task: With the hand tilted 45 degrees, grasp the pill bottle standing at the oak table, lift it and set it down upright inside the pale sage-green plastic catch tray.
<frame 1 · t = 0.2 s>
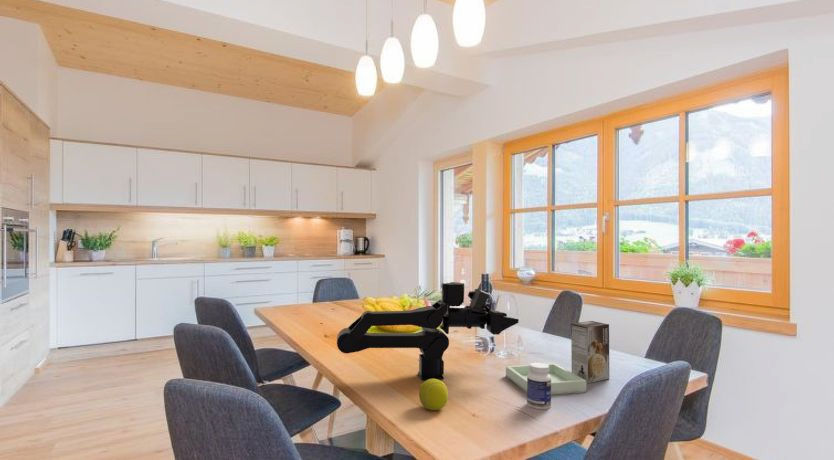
hand: (512, 317, 131), 17 cm above the table, tool horizontal, fingers open, 9 cm apart
catch tray: (543, 383, 121), on the table
pill bottle: (538, 406, 106), on the table
coffee box: (590, 378, 127), on the table
tennis ball: (433, 409, 103), on the table
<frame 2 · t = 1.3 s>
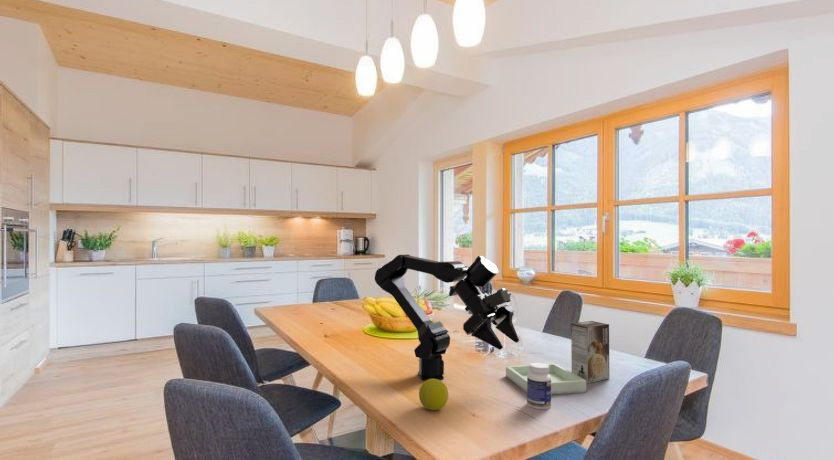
hand: (509, 345, 111), 13 cm above the table, tool tilted 45°, fingers open, 9 cm apart
nothing on the table moved.
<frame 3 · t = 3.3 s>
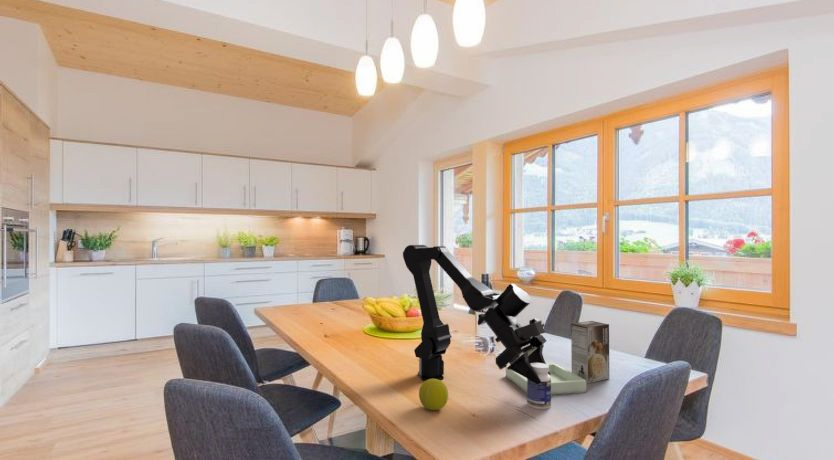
hand: (544, 379, 105), 7 cm above the table, tool tilted 45°, fingers closed on pill bottle, 6 cm apart
pill bottle: (538, 406, 106), on the table, touching gripper
everything else where it was.
when the fingers open (9 cm above the table, at t = 7.1 s): pill bottle drops 1 cm, resting on catch tray.
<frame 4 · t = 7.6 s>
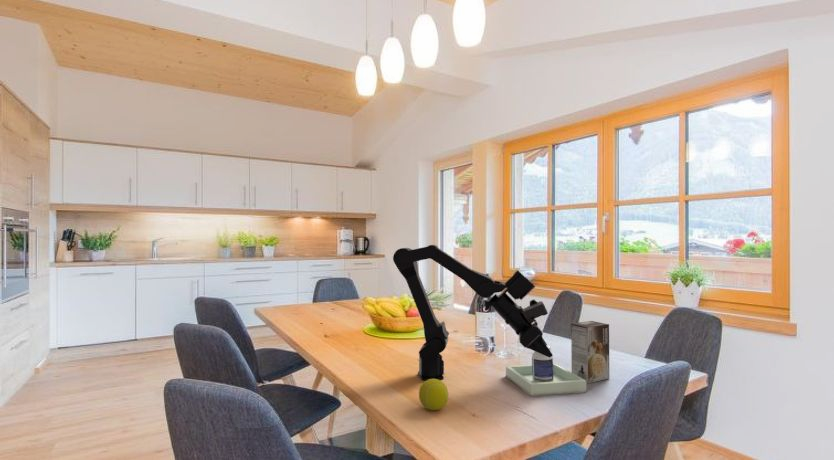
hand: (549, 351, 121), 9 cm above the table, tool tilted 45°, fingers open, 9 cm apart
pill bottle: (543, 382, 121), resting on catch tray
everything else where it was.
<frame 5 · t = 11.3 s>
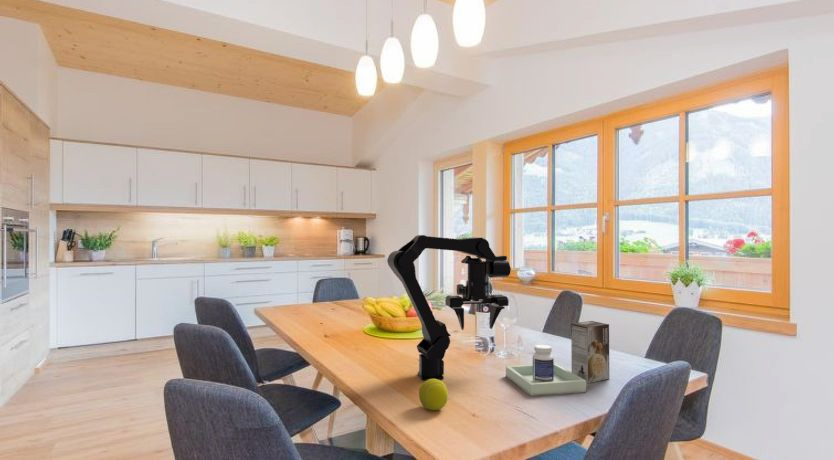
hand: (476, 329, 132), 13 cm above the table, tool pointing down, fingers open, 9 cm apart
nothing on the table moved.
at the end: pill bottle inside the target area on the catch tray (0.2 cm from its centre), point 0.3 cm above the catch tray's base; pill bottle tilted 1°; the gripper is holding nothing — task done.
